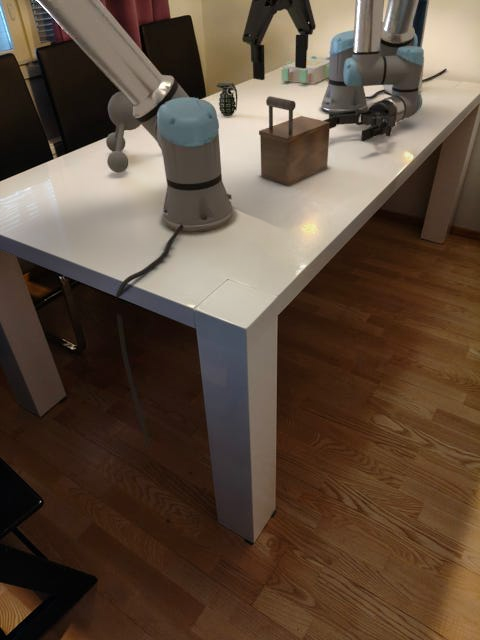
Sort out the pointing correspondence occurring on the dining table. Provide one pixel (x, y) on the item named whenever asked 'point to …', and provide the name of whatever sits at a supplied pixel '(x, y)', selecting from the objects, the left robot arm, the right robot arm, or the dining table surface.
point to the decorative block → (307, 71)
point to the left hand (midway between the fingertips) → (280, 73)
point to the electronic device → (417, 33)
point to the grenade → (227, 99)
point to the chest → (294, 157)
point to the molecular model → (119, 130)
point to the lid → (290, 122)
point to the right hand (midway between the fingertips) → (341, 131)
